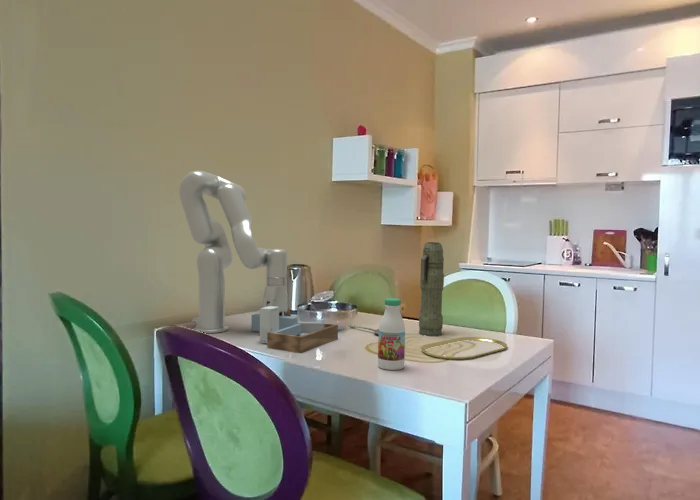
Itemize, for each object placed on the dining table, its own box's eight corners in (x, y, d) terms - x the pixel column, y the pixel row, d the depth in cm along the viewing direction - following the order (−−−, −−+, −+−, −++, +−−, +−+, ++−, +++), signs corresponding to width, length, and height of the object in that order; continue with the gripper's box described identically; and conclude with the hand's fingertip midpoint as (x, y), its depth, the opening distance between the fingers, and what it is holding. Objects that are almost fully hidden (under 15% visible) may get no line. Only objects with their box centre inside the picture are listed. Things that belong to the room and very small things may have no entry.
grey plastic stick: (296, 333, 195) (296, 323, 195) (296, 332, 198) (296, 321, 198) (328, 334, 196) (328, 323, 196) (328, 332, 199) (328, 321, 199)
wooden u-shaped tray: (267, 347, 172) (267, 332, 172) (306, 334, 194) (306, 321, 193) (301, 352, 166) (301, 337, 166) (337, 338, 188) (338, 324, 187)
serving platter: (517, 348, 181) (517, 344, 181) (455, 365, 157) (456, 360, 157) (472, 338, 195) (472, 334, 194) (409, 352, 171) (409, 347, 171)
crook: (225, 339, 183) (224, 322, 182) (256, 329, 200) (256, 313, 200) (272, 344, 175) (272, 326, 174) (301, 333, 192) (301, 317, 192)
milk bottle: (376, 363, 156) (377, 296, 155) (401, 363, 156) (403, 297, 155) (379, 370, 148) (381, 300, 147) (406, 370, 149) (408, 301, 147)
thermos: (412, 334, 198) (414, 242, 196) (428, 329, 207) (431, 241, 205) (432, 338, 192) (435, 243, 191) (448, 333, 201) (451, 242, 200)
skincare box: (270, 344, 176) (269, 308, 176) (259, 343, 178) (259, 308, 177) (279, 340, 181) (279, 306, 181) (269, 339, 183) (269, 305, 183)
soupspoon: (384, 341, 190) (396, 339, 195) (385, 332, 190) (397, 330, 195) (343, 329, 206) (355, 328, 211) (344, 320, 206) (356, 319, 211)
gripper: (281, 279, 203) (280, 326, 204) (254, 283, 188) (254, 333, 189) (297, 280, 200) (296, 328, 200) (271, 284, 185) (271, 336, 186)
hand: (276, 330), depth 195 cm, fingers closed on crook, 3 cm apart
